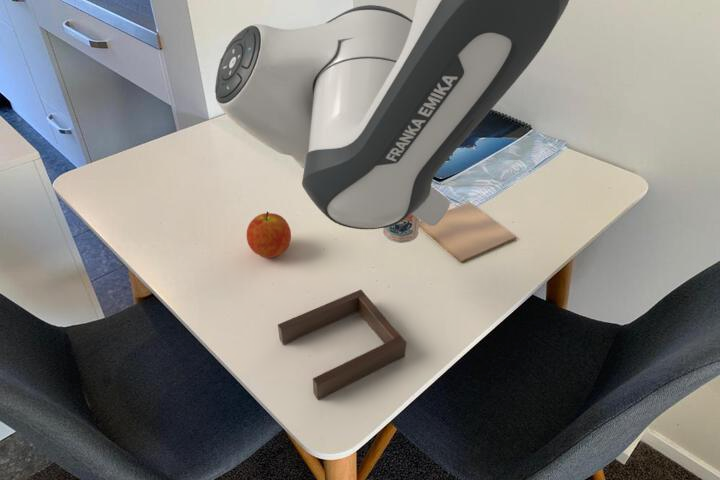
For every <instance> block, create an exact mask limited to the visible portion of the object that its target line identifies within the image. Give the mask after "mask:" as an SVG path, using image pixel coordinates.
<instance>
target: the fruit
mask: <svg viewBox="0 0 720 480" xmlns="http://www.w3.org/2000/svg"><path fill="white" fill-rule="evenodd" d="M246 241H247V245H248V246H249V248H250V249H251V251H252V252H253V253H254V254H256V255H258V256H259V257H261V258H265V259H269V258H274V257H277V256H279V255H282V254H283V253H284V252H285V251H287V249H288V248H289V247H290V245H291V241H292V230H291V228H290V225H289V223H288V222H287V220H286V219H285V218H284V217H283V216H281V215H279V214H278V213H274V212H273V213H272V212H269V211H266V213H265V212H264V213H260V214H258V215H257V216H255V217H253V218H252V220H251V221H250V222H249V223H248V226H247V228H246Z"/></svg>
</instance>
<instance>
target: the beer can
mask: <svg viewBox="0 0 720 480" xmlns="http://www.w3.org/2000/svg"><path fill="white" fill-rule="evenodd" d="M419 221H420V220H419V219H418V218H416V217H415V216H413V215H412V214H411V215H409V216H408V217H407V218H405V219H404V220H402V221H401V222H399V223H397V224H395V225H392V226H389V227H385V228H382V234H383V236H384V237H385V238H386V239H387V240H388V241H390V242H393V243H397V244H403V243H410V242H412V241H414V240H416V239H417V237H418V236H419V229H420V226H419Z"/></svg>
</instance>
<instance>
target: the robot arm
mask: <svg viewBox="0 0 720 480" xmlns="http://www.w3.org/2000/svg"><path fill="white" fill-rule="evenodd" d="M569 2H570V0H416V4H415V10H414V13H413V17H412V18H413V19H411V18H410V17H408V16H406V15H405V14H403V13H401V12H399V11H398V10H395V9H393V8H390V7H387V6H383V5H375V4H368V5H359V6H355V7H353V8H350V9H348V10H346V11H343V12H341V13H340V14H338V15H337V16H335V17H332V18H331V19H330V20H327V22H325V23H321V24H316V25H312V26H308V27H302V28H294V29H283V28H279V27H273V26H269V25H266V24H260V23H259V24H257V23H256V24H250V25H248V26H246V27H244V28H243V29H242V30H241V31H239V32H238V33H237V34H236V35H235V36H234V37H233V38H232V39H231V40H230V42H229V43H228V44H227V46H226V47H225V51H224V53H223V55H222V57H221V58H220V62H219V64H218V68H217V72H216V77H215V88H214V93H215V100H216V102H217V104H218V106H219V108H220V109H221V111H222V112H224V114H225V115H226V116H227V117H228V118H229V119H230V120H231V121H232V122H234V123H235V125H237V126H238V127H240V129H242V131H245V133H247V134H248V135H250V136H252V137H253V138H254V139H256V140H257V141H259V143H262V144H263V145H265V146H266V147H268V148H270V149H271V150H273V151H274V152H276V153H279V154H281V155H285V156H290V157H292V159H293V160H294V162H295V163H296V164H297V165H298V166H300V167H301V168H302V169H303V174H302V180H301V186H302V188H303V190H304V192H305V193H306V194H307V196H308V197H309V198H310V200H311V201H312V202H313V204H314V205H315V206H316V207H317V208H318V209H319V211H320V212H321V213H323V214H324V215H325V216H326V217H327V219H329V220H330V221H332V222H333V223H335V224H337V225H339V226H342V227H345V228H349V229H354V230H355V229H356V230H378V229H383V228H385V227H389V226H392V225H395V224H397V223H399V222H401V221H402V220H404V219H405V218H407V217H408V216H409V215H411V214H412V215H413V216H415V217H416V218H418V219H419V221H422V222H423V223H425V224H426V225H428V226H435V225H436V224H437V223H438V222H439V221H440V220H441V219H442V217H443V216H444V215H445V213H446V212H447V211H448V210H449V208H450V206H451V200H450V199H449V197H447V196H446V195H445V194H444V193H443V192H441V191H440V190H439V189H438V188H436V187H435V186H434V185H432V184H433V180H434V178H435V176H436V174H437V173H438V172H439V170H440V169H441V167H442V166H443V165H444V164H445V163H446V162H447V161H448V159H449V158H450V157H452V155H453V154H454V153H455V152H456V150H457V149H458V148H459V147H460V146H461V145H462V144H463V143H464V141H465V140H466V139H467V138H468V137H469V135H471V133H472V132H473V131H474V130H475V129H476V128H477V126H478V125H480V123H481V122H482V121H483V120H484V119H485V117H486V116H487V115H488V114H489V113H490V111H491V110H492V109H494V107H495V106H496V104H497V103H499V101H500V100H501V99H502V98H503V97H504V95H505V94H506V93H507V92H508V91H509V89H510V88H511V87H512V86H513V85H514V84H515V83H516V81H517V80H518V79H519V78H520V76H522V74H523V73H524V72H525V70H527V68H528V67H529V65H530V64H531V63H532V62H533V60H534V59H535V58H536V56H537V55H538V54H539V52H540V51H541V49H542V48H543V47H544V45H545V44H546V42H547V40H548V39H549V37H550V35H551V34H552V32H553V31H554V29H555V27H556V26H557V24H558V22H559V20H560V19H561V17H562V16H563V14H564V12H565V10H566V9H567V6H568V5H569Z"/></svg>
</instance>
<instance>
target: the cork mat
mask: <svg viewBox="0 0 720 480" xmlns="http://www.w3.org/2000/svg"><path fill="white" fill-rule="evenodd" d="M419 228H420V229H422V230H423V231H424V232H425V233H426V234H427V235H429V236H430V237H431V239H433V240H434V241H435V242H437V243H438V244H439V245H440V246H441V247H442V248H443V249H444V250H445V251H447V252H448V253H449V254H450V255H452V257H454V258H455V259H456V260H457V261H458V262H459V263H460V264H464V263H465V262H467V261H469V260H471V259H474V258H476V257H478V256H481V255H483V254H485V253H488V252H490V251H492V250H495V249H496V248H500V247H501V246H504V245H506V244H508V243H510V242H512V241H515V240H517V236H516V235H514V234H513V233H512V232H510V231H509V230H508V229H506V228H505V227H504V226H503V225H501V224H500V223H499V222H497V221H496V220H494V219H493V218H491V217H490V216H489V215H488V214H487V213H485V212H484V211H482V210H481V209H480V208H478V207H477V206H476V205H474V204H473V203H471V202H467V203H466V202H465V203H464V204H461V205H459V206H458V205H457V206H456V207H453V208H451V209H448V210H447V212H446V213H445V215H444V216H443V217H442V219H441V220H440V221H439V222H438V223H437V224H436V225H435V226H428V225H426V224H425V223H423V222H422V221H421V220H419Z"/></svg>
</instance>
